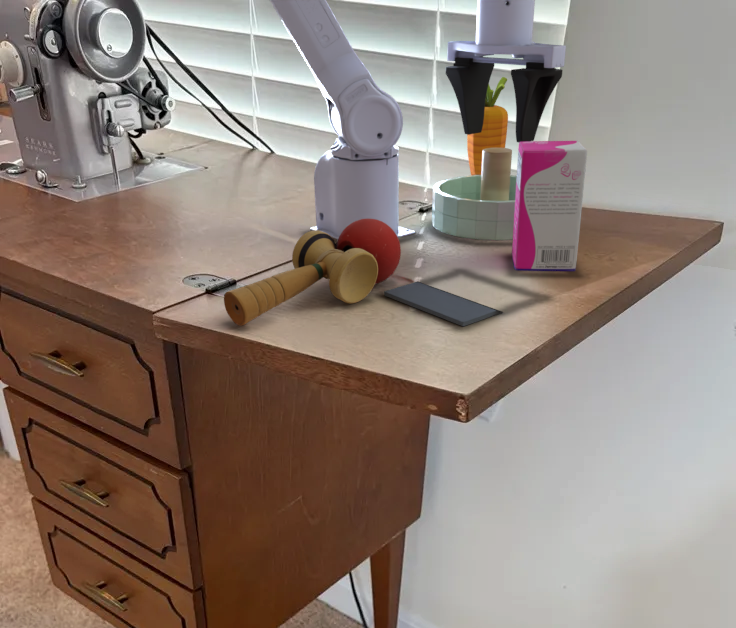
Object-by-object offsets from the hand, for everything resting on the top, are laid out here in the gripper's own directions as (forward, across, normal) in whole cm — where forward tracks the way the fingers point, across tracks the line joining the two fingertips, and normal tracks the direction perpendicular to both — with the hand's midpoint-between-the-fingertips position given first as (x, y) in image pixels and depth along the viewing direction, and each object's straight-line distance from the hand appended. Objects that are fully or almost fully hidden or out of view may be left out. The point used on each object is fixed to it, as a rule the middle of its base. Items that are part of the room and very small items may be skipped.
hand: (498, 137), depth 85 cm
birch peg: (+9, 0, 0) cm, 9 cm away
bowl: (+10, 0, 0) cm, 10 cm away
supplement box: (+10, -13, +7) cm, 18 cm away
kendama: (+10, -6, +29) cm, 31 cm away
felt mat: (+10, -14, +19) cm, 26 cm away
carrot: (+10, +10, -9) cm, 17 cm away
